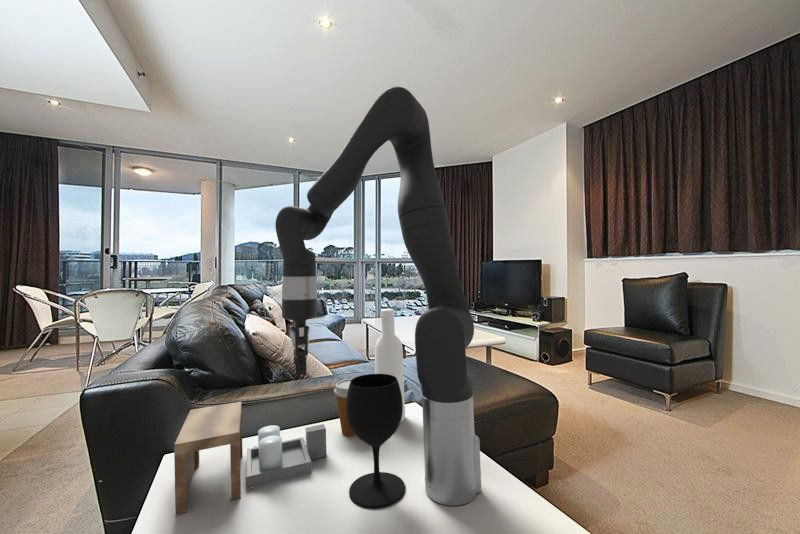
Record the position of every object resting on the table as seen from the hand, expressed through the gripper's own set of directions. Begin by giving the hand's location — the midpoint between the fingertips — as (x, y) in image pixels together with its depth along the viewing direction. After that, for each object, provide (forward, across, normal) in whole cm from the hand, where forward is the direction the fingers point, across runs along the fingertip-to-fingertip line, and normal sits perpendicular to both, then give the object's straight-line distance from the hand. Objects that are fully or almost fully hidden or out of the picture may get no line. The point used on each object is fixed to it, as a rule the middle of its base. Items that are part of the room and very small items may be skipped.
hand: (299, 369), depth 77 cm
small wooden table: (+19, -3, +16) cm, 26 cm away
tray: (+19, -2, +3) cm, 20 cm away
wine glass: (+18, -19, -13) cm, 29 cm away
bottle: (+19, +10, -25) cm, 33 cm away
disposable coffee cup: (+19, +7, -14) cm, 25 cm away
